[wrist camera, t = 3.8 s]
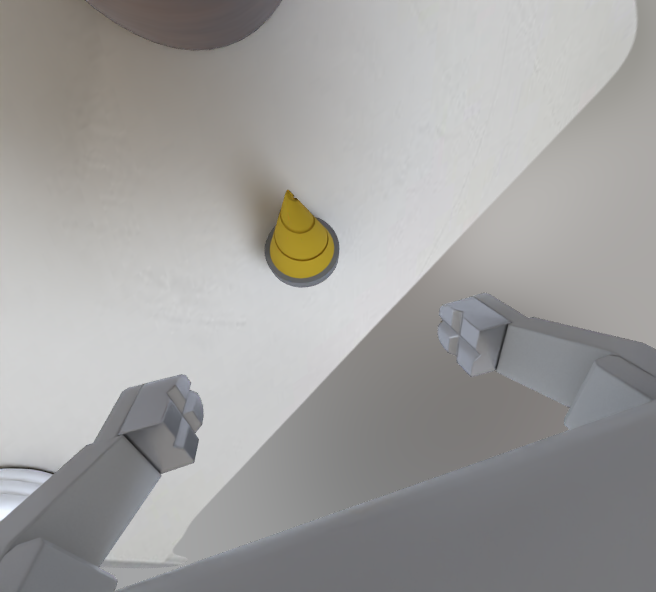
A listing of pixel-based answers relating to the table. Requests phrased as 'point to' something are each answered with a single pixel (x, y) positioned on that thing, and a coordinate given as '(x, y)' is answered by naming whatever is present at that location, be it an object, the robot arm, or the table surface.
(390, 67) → the table surface
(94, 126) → the table surface
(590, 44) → the table surface
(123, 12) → the stand
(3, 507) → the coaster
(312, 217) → the yellow tiered cone
